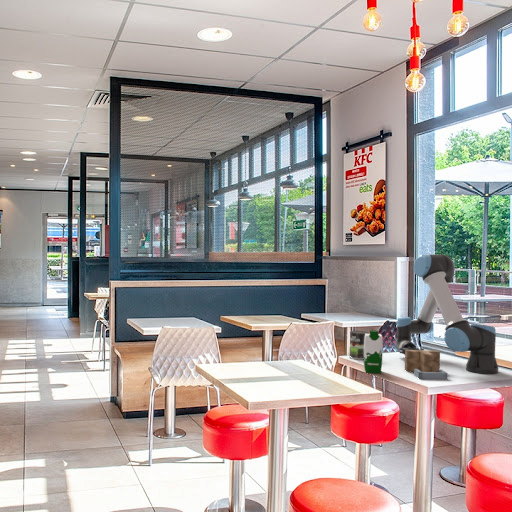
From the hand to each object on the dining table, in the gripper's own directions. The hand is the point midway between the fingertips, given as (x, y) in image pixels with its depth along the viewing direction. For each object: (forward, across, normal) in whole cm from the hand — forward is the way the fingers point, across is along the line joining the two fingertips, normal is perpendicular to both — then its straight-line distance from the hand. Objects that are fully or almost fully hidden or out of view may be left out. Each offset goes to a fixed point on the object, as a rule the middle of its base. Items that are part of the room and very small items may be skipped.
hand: (420, 356), depth 303 cm
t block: (+6, -1, -7) cm, 9 cm away
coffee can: (-32, +25, -7) cm, 41 cm away
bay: (+16, -1, -7) cm, 18 cm away
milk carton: (+6, +24, -7) cm, 26 cm away
